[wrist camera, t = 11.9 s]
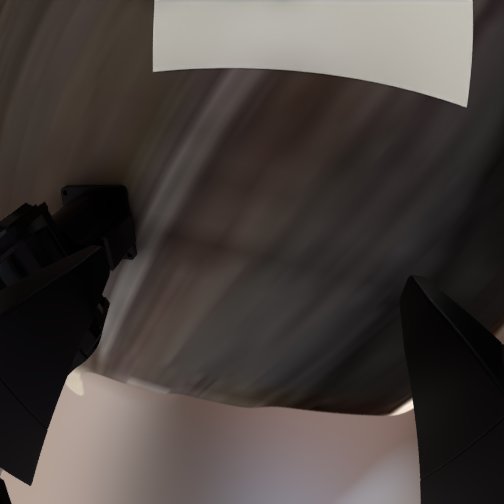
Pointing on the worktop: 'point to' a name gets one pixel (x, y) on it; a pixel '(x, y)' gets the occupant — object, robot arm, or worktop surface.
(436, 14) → the card
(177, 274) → the worktop surface
